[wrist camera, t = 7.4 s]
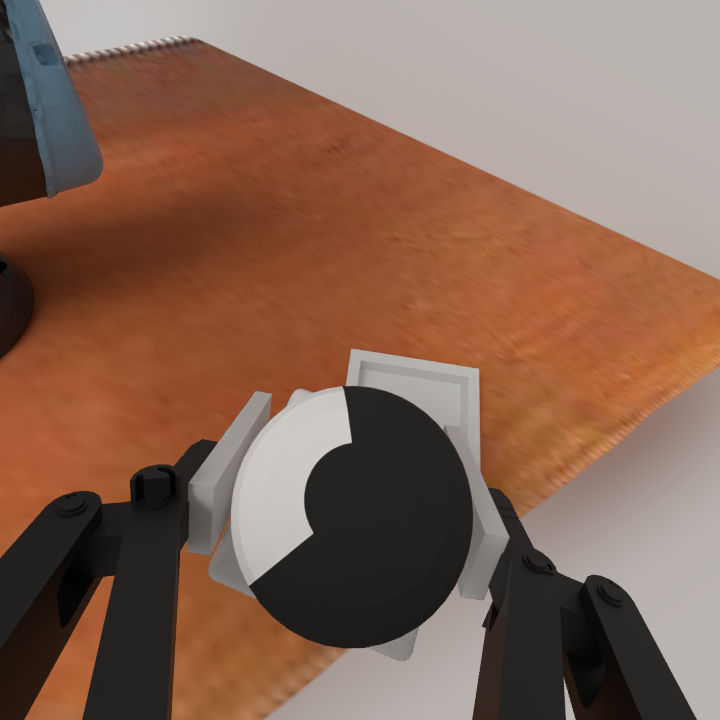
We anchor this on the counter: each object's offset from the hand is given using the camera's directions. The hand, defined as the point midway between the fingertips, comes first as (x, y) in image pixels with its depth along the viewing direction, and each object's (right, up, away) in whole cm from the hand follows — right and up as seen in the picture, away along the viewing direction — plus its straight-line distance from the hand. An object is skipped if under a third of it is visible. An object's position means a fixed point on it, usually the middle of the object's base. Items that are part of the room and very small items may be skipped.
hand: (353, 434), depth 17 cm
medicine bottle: (-1, -5, +2) cm, 5 cm away
